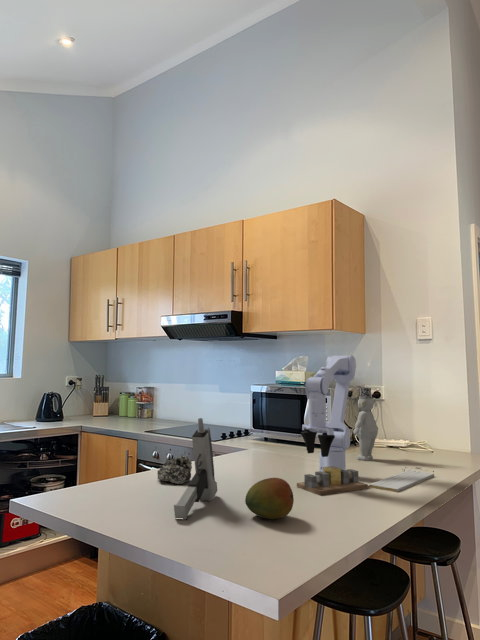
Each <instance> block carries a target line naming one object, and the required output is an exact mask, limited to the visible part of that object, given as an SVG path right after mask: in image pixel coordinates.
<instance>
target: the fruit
mask: <svg viewBox="0 0 480 640" xmlns="http://www.w3.org/2000/svg"><path fill="white" fill-rule="evenodd" d="M244 502H245V505H246V507H247V509H248V510H250V512H251V513H253V514H255V515H256V516H258V517H260V518H263V519H267V520H278V519H283V518H284V517H287V515H289V514H290V512H291V511H292V510H293V506H294V492H293V490H292V487H291V485H290V484H289V483H288V482H287V480H285V479H283V478H280V477H269V478H264V479H262V480H261V479H260V480H259V481H257V482H256V483H254V484H253V485H252V486H251V487H250V488H249V489H248V490H247V492H246V496H245V501H244Z"/></svg>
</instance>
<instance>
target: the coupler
mask: <svg viewBox="0 0 480 640" xmlns="http://www.w3.org/2000/svg"><path fill="white" fill-rule="evenodd" d="M323 472H325V473H328V474H329V485H331V486H333V485H340V484H341V468H338V467H334V466H328V467H323Z"/></svg>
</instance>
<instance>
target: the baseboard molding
mask: <svg viewBox="0 0 480 640" xmlns="http://www.w3.org/2000/svg"><path fill="white" fill-rule="evenodd" d="M404 467H405V468H404V469H403V468H402V472H399V473H397V474H394V475H391V476H388V477H385V478H383V479H380V480H376V481H375V482H371V483H369V484H368V488H370V489H371V488H372V489H377V490H383V491H389V492H394V493H398V492H401V491H403V490H404V489H408V488H410V487H412V486H414V485H417V484H419V483H422V482H423V481H426V480H428V479H431V478H432V477H434V476H435V473H434V472H435V471H434V470H433V471H432V472H433V473H432V472H426V471H429V470H427V469H426V470H425V471H423V472H422V468H421V467H415V468H413V467H412V470H411V469H409V470H405V469H408V467H407V466H404ZM413 469H414V470H413ZM415 469H416V470H420V471H416V470H415Z"/></svg>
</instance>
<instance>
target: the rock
mask: <svg viewBox="0 0 480 640" xmlns="http://www.w3.org/2000/svg"><path fill="white" fill-rule="evenodd" d="M192 465H193V463H192V460H191V457H190V456H184V455H181V456H179V457H174V458H170V459H167V460H165V461H164V462H163V465H160V467H159V469H158V470H157V473H156V474H157V478H156V479H157V480H159V481H162V480H163V482H169V483H172V484H174V483H175V485H183V484H185V483H187V482H190V481H191V479H192V478H191V477H192V473H191V472H192V469H193V466H192Z"/></svg>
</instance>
